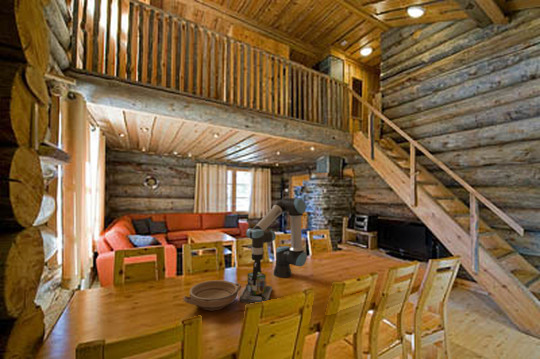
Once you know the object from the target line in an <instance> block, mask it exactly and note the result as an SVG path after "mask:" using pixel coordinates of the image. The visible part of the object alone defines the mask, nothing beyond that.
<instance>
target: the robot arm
mask: <svg viewBox="0 0 540 359" xmlns="http://www.w3.org/2000/svg"><path fill="white" fill-rule="evenodd" d="M306 207H307V205H306V203H305V200H303V199H302V198H299V197H298V198H297V197H285V198H281V199H280V200H278V201H277V202H275V204H273V205H272V208H271V209H270V210H269V211H268V212H267V213H266V214H265V215H264V216H263V217H262V218H261V220H259V222H257V223H256V225H254V226H253V227H250V228H247V229H246V232H245V235H246V238H248V239H251V247H250V248H251V260H253V264H252V266H253V269H252V272H253V276H252V279H251V280H253V287H252V290H255V291H257V273H258V272H261V273H263V271H262V266H261V265H262V264H261V261H262V260H264V244H266V243H271V242H273V241H275V240H276V238H277V236H276V233H275V231H274V230H266V229H268V228H269V226H270V225H271V224H272V223H273V222H274V221H275V220H276V219H277V218H278V217H279V216H280V215H282V214H284V213H287V214H288V217H289V218H290V219H289V220H290V246H289V245H284V246H278V247H276V249H275V251H276V252H275V266H274V269H273V276H275V277H277V278H285V279H286V278H290V277H291V276H292V269H291V266H292V265H293V266H295V267H301V268H302V267H303V266H304V265H305V264H306V262H307V260H308V254H307V252H305V251H304V250H305V249H304V247H303V242H302V238H303V237H302V217H303V216H304V213H306Z"/></svg>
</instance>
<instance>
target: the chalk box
mask: <svg viewBox="0 0 540 359" xmlns="http://www.w3.org/2000/svg"><path fill="white" fill-rule="evenodd" d="M252 276H253V271H252V272H249V273H247V284H248V287H247V291H249V292H250V293H251V294H252V295H257V294H261V293H265V292H266V286H267V284H266V282H267V281H266V280H267V279H266V276H267V275H266V274H265V273H263V272H258V273H257V291H255V290H252V287H253V280H251V279H252Z"/></svg>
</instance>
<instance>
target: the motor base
mask: <svg viewBox="0 0 540 359" xmlns="http://www.w3.org/2000/svg"><path fill="white" fill-rule="evenodd" d="M247 287H248V283H246V285H245V286H244V288H243V289H242V292H241V293H240V295H239V300H238V301H239V303H246V304H247V303H249V304H255V303H254V302H262V301H267V300H269V301H270V298H271V296H272V295H271V294H272V291H273V286H272V285H267V281H266V292H265V293H261V294H257V295H252V294H251V293H250V292H249V291H247ZM250 302H251V303H250Z"/></svg>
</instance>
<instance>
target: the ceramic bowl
mask: <svg viewBox="0 0 540 359" xmlns="http://www.w3.org/2000/svg"><path fill="white" fill-rule="evenodd" d="M241 288H242V284H240V282H236V283H233V282H232V281H228V280H222V279H221V280H220V279H218V280H217V279H216V280H215V279H213V280H205V281H202V282H200V283H197V284H194V285H193V286H192V287H191V288H190V289H189V296H186V295H185V296H183V297H182V300H183V302H184V303H187V304H190V305H195V306H197V307H199V308H202V309H204V310H206V311H211V312H212V311H219V310H222V309H224V308H225V307H227V306H228V305H230V304H232V303H233V302H234V301H235V300H236V298H237V297H238V296H237V295H238V293H239V291H240V290H241Z"/></svg>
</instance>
